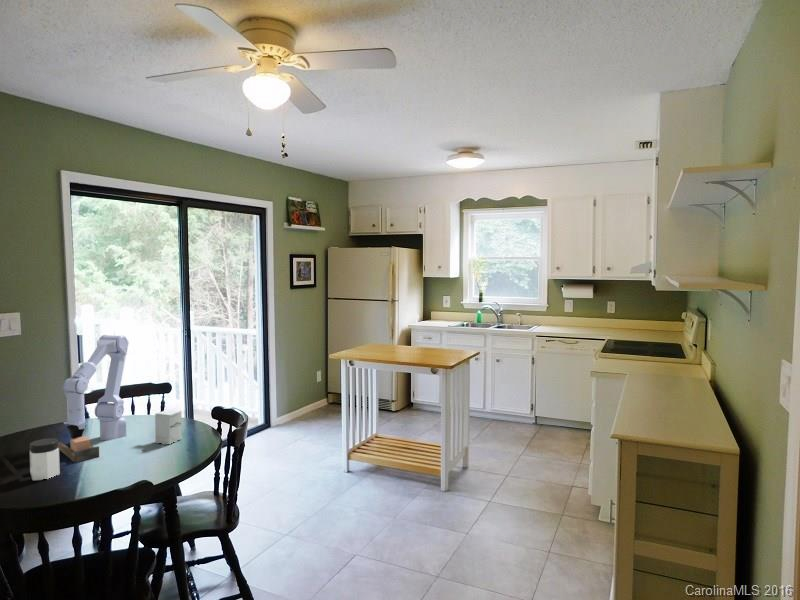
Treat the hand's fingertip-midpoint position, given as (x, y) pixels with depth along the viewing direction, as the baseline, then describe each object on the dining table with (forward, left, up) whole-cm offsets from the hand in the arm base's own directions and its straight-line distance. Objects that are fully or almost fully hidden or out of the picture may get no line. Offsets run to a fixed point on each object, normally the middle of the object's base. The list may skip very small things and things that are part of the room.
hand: (76, 443), depth 199 cm
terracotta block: (0, +4, -3) cm, 6 cm away
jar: (+14, +15, -5) cm, 21 cm away
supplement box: (-31, +10, -5) cm, 33 cm away
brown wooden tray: (0, +1, -4) cm, 5 cm away
